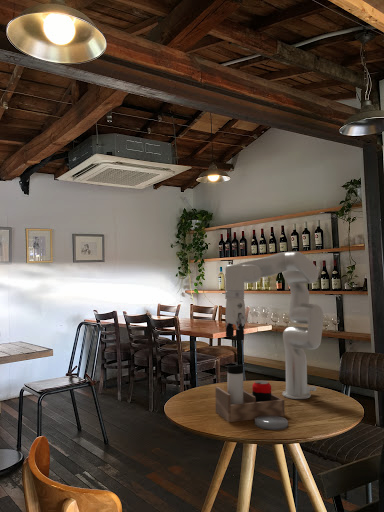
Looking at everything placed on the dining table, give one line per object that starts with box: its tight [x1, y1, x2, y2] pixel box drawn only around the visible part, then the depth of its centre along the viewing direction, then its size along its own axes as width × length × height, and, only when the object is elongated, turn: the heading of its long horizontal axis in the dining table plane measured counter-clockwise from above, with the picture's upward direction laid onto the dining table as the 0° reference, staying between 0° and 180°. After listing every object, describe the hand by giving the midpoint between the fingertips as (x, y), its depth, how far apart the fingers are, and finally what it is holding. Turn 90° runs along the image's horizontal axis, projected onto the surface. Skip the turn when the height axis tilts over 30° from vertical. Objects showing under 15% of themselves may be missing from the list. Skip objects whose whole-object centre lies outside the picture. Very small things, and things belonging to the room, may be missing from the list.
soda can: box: [251, 380, 272, 402], centre depth 174 cm, size 8×8×12 cm
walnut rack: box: [215, 386, 286, 423], centre depth 172 cm, size 24×13×10 cm, turn 108°
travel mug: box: [226, 364, 244, 405], centre depth 171 cm, size 6×7×20 cm
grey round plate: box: [254, 415, 289, 431], centre depth 159 cm, size 12×12×2 cm
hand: (234, 338), depth 172 cm, fingers open, 9 cm apart
